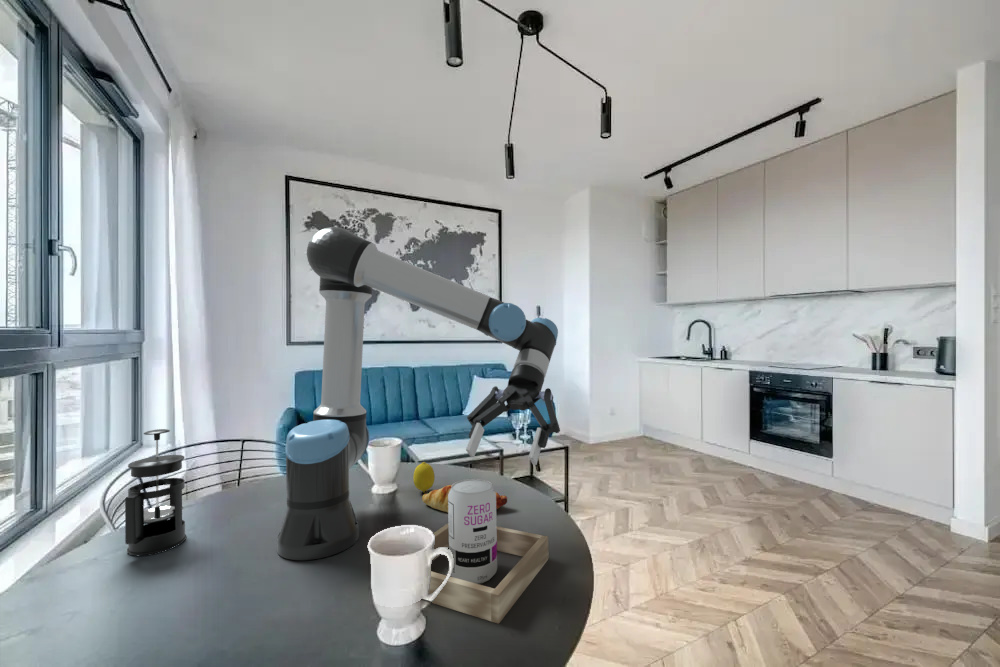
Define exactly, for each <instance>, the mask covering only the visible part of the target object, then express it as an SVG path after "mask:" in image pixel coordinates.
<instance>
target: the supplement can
mask: <svg viewBox="0 0 1000 667" xmlns="http://www.w3.org/2000/svg"><path fill="white" fill-rule="evenodd" d="M451 485H452V488H451V490H450V492H449V494H448V512H447V513H448V514H447V516H448V518H447V519H448V522H447V523H448V525H449V549H450V550H451V552H452V554H453V558H454V568H453V572H452V575H450V577H454V578H457V579H461V580H465V581H468V582H472V583H476V584H479V585H481V584H484V583H486V582H488V581H490V579H491V578H493V576H495V574H496V573H497V570H498V551H497V527H498V525H497V509H496V493H497V492H496V491H495V489H494V487H493V484H492V482H490V481H489V480H486V479H479V478H473V479H472V478H469V479H461V480H458V481H455V482H454V483H452V484H451ZM495 492H496V493H495ZM449 549H448V550H449Z"/></svg>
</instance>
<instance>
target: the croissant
mask: <svg viewBox="0 0 1000 667" xmlns="http://www.w3.org/2000/svg"><path fill="white" fill-rule="evenodd" d="M452 485H453V484H449V485H448V484H447V485H445V486H443V487H442V488H439V489H433V490H431V491H429V493H428V492H427V493H424V494H423V495H422V497H421V499H422V500H421V501H422V502H423V503H424V504H426V506H429V507H431V508H432V509H435V510H439V511H441V512H444V513H448V494H449V492H450V490H451V488H452ZM495 493H496V510H498V509H500V508H501V507H503V506H505V505H506V504H507V503H508V496H506V495H500V494H499V493H498V492H496V491H495Z"/></svg>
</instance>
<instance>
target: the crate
mask: <svg viewBox="0 0 1000 667" xmlns="http://www.w3.org/2000/svg"><path fill="white" fill-rule="evenodd" d="M432 534H434V535H435V545H434V549H436V548H438V547H448V548H449V525H448V522H447V523H446V524H444V525H443V526H441V527H440V528H439V529H438V530H436V531H435V532H433V533H432ZM497 552H501V553H506V554H510V555H515V556H519V557H521V558H520V559H519V561H518V562H517V563H516V564H515V565H514V566H513V567H512V569H510V570H509V572H508V573H507V574H506V576H505V577H504V578H503V579H502V580H501V581H500V582H499V583H498V585H497V586H496V587H495V588H493V587H490V586H486V585H483V584H476V583H472V582H468V581H465V580H461V579H457V578H454V577H452V576H450V578H449V579H448V581H447V583H446V585H445V586H444V587H443V589H442V590H441V591H440V593H439V594H438V595H437V597H436V598H435V599H434V601H433V602H432V604H435V605H438V606H441V607H443V608H447V609H450V610H452V611H455V612H456V611H457V612H460V613H463V614H466V615H469V616H473V617H476V618H479V619H482V620H485V621H489V622H491V623H494V624H498V625H499V624H500V623H501V622H502V621H503V620H504V618H505V616H506V615H507V614H508V613H509V611H510V610H511V609H512V607H513V606H514V605H515V604H516V603H517V601H518V600H519V599H520V597H521V596H522V594H523V593H524V592H525V591H526V589H527V588H528V587H529V585H530V584H531V583H532V581H533V580H534V578H536V576H537V575H538V573H539V572H540V571H541V570H542V569H543V567H544V565H545V564H546V563H547V562H548V561H549V559H550V558H549V556H550V554H549V536H546V535H541V534H536V533H532V532H527V531H523V530H522V531H521V530H516V529H512V528H507V527H503V526H502V527H501V526H497ZM440 556H441V555H438V556H436V557H435V558H434V559H433V561H435V560H436V559H437V558H439V557H440ZM430 571H431V582H430V589H429V594H431V593H433V592H434V591H435V590H436V589H437V588H438V587H439V586H440V585H441V584H442V582H443V581H444V579H445V578H446V576H447V575H445V574H441V573H438V572H435V571H432V570H430Z"/></svg>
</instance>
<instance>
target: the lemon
mask: <svg viewBox="0 0 1000 667" xmlns="http://www.w3.org/2000/svg"><path fill="white" fill-rule="evenodd" d="M412 480H413V484H414V487H415V488H416V489H417V490H419V491H421V492H422V491H423V492H422V493H426V492H427V491H428V490H430V489H431V488H432V487H433V485H434V483H435V471H434V469H433V466H432V465H431V464H430V463H426V462H425V461H423V462H421V463H420V464H418V465H417V466H416V467H415V469H414V472H413V479H412ZM425 491H426V492H425Z"/></svg>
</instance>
